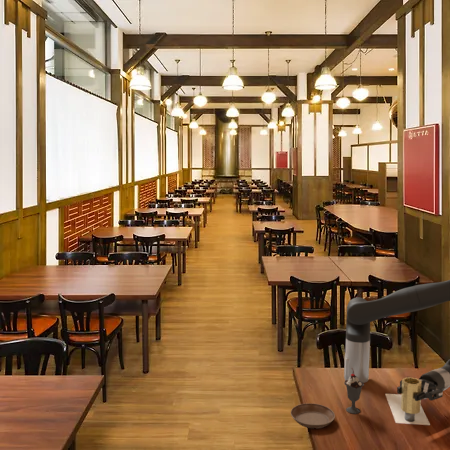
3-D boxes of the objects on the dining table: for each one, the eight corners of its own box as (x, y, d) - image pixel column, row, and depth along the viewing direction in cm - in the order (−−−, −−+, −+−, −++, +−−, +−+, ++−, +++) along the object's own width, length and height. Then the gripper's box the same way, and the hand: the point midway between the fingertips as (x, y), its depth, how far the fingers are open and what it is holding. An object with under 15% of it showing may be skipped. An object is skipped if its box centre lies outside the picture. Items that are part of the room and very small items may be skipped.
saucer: (326, 436, 171) (326, 428, 171) (283, 425, 178) (283, 417, 178) (340, 416, 184) (340, 409, 184) (299, 407, 191) (300, 399, 191)
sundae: (349, 404, 192) (351, 364, 191) (366, 410, 188) (367, 369, 186) (339, 410, 188) (340, 369, 186) (356, 417, 183) (357, 375, 181)
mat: (395, 425, 177) (395, 422, 177) (385, 396, 199) (385, 393, 199) (430, 427, 176) (430, 425, 176) (415, 397, 197) (415, 395, 197)
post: (405, 421, 178) (406, 407, 177) (403, 416, 181) (404, 402, 181) (415, 422, 178) (416, 407, 177) (413, 417, 181) (414, 403, 180)
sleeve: (412, 415, 175) (413, 386, 174) (397, 408, 180) (398, 380, 179) (424, 410, 178) (425, 382, 177) (409, 403, 183) (410, 375, 182)
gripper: (418, 364, 192) (389, 376, 182) (455, 377, 180) (426, 391, 171) (417, 384, 193) (388, 397, 183) (454, 398, 181) (425, 413, 171)
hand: (407, 394), depth 177 cm, fingers closed on sleeve, 6 cm apart
